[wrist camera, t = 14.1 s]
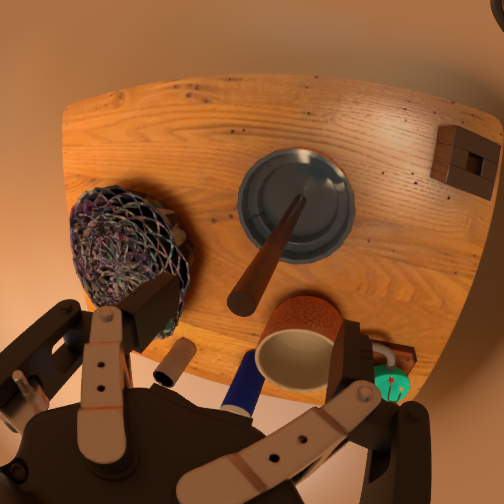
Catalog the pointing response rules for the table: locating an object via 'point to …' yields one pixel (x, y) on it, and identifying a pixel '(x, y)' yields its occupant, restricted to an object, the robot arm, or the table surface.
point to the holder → (465, 161)
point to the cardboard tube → (174, 363)
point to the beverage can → (244, 387)
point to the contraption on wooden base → (392, 369)
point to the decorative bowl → (127, 246)
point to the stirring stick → (264, 263)
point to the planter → (298, 344)
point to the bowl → (283, 193)
